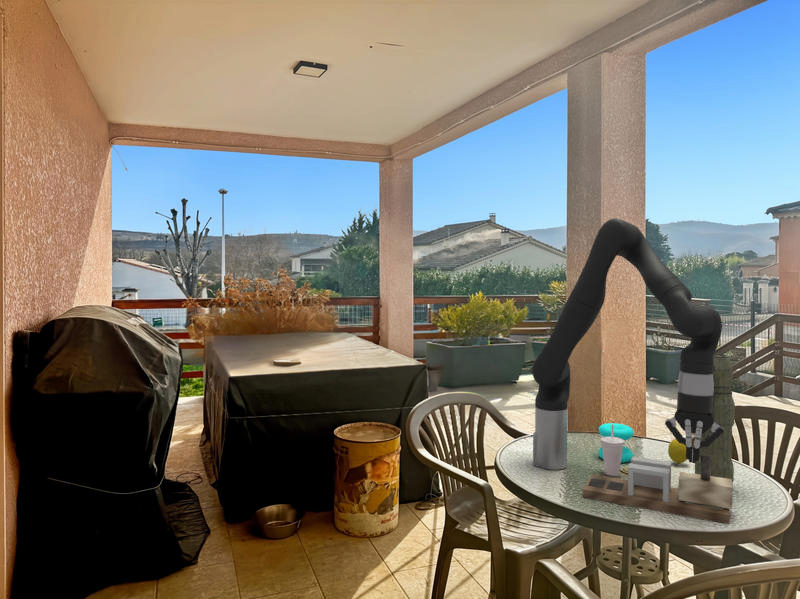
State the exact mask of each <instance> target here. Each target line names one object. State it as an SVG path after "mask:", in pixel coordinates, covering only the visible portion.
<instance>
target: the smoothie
mask: <svg viewBox="0 0 800 599" xmlns="http://www.w3.org/2000/svg"><path fill="white" fill-rule="evenodd" d="M613 435H614V424H612V425H611V437H603V436H602V437H601V438H600V444H601V447H602V450H603V458H604V459H603V464H604V473H605V475H607V476H610V477H611V476H612V477H616V476H617V477H618V476H620V471H621V464H622V463H621V458H622V451H623V446H625V440H623V439H620V438H617V437H613Z"/></svg>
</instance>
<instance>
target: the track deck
mask: <svg viewBox="0 0 800 599" xmlns="http://www.w3.org/2000/svg"><path fill="white" fill-rule="evenodd" d="M585 497H586V498H587V499H591V500H596V499H597V501H601V502H609V503H613V504H619V505H623V506H630V507H634V508H640V509H644V510H650V511H657V512H661V513H666V514H667V513H668V514H673V515H678V516H683V517H688V518H693V519H699V520H704V519H706V520H705V521H710V520H712V521H711V522H715V521H717V522H716V523H721V522H722V524H726V523H728V524H727V525H730V521H731V520H730V517H731V516H730V509H728V508H722V507H716V506H711V505H705V504H699V503H693V502H687V501H682V500H679V487H678V488H677V487H672V486H671V491H669V502H664V501H663V489H657V488H651V487H645V486H639V485H634V495H633V496H630V495H628V479H623V478H616V477H611V476H606V475H605V476H604V475H597V474H593V473H592V474H590V476H589V478H588V480H587V482H586V483H585V485H584V486H583V488H582V498H585Z"/></svg>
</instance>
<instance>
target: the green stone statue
mask: <svg viewBox="0 0 800 599" xmlns="http://www.w3.org/2000/svg"><path fill="white" fill-rule="evenodd" d="M733 371H734V370H733V365H732V362H731V360H730V357H728V356H726V355H724V354H716V353H715V354H714V364H713V380H714V392H713V412H712V415H713V417H714V422H715V423H717V424H718V425H719V426H722V427H723V430H724V432H723V433H722V434H721V435H720V436H719V437H718V438H717V439H715V440H714V441H713V442H712V443H711V444H710V445H709V446H708V447H701V448H700V450H699V460H698V461H696V463H694V474H700V475H701V455H708V456H710V476H713V477H720V478H727V479H732V484H734V483H733V482H734V476H735V471H734V470H735V468H734V463H733V459H732V456H733V454H732V453H733V441H732V440H733V427H734V424H735V417H736V416H735V413H736V412H735V411H736V410H735V408H736V407H735V406H736V405H735V401H734V398H733V391H732V387H733V375H734V374H733ZM712 427H713V426H711V427H710V428H709V429H708V430H707V431H706V432H705V433H703V434H701V440H704V439H705V438H706V437H707V436H708V435H709V434H710V433H712V431H711V429H712ZM701 440H700V441H701Z"/></svg>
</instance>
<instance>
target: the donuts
mask: <svg viewBox="0 0 800 599" xmlns="http://www.w3.org/2000/svg"><path fill="white" fill-rule="evenodd" d="M612 424H614V435H613V437H617V438H620V439H623V440H624V441H629V440H630V439H632V438H633V436H634V435H635V432H634V429H633V428H632V427H631V426H630V425H627V424H622V423H614V422H609V423H608V422H606V423H603V424H601V425H600V426H599V427H598V434H600V435H601V436H602V438H603V437H611V425H612ZM598 455H599V457H600V459H603V460H604V458H603V450H602V446H600V447H599V449H598ZM634 455H635V454H634V452H633V451H632V450H631V449H630V448H628V447H627V446H625V445H624V446H623V451H622V458H621V464H622V463H623V464H624V463H629V462H631V459H632V457H633V456H634ZM634 457H635V456H634Z"/></svg>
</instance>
